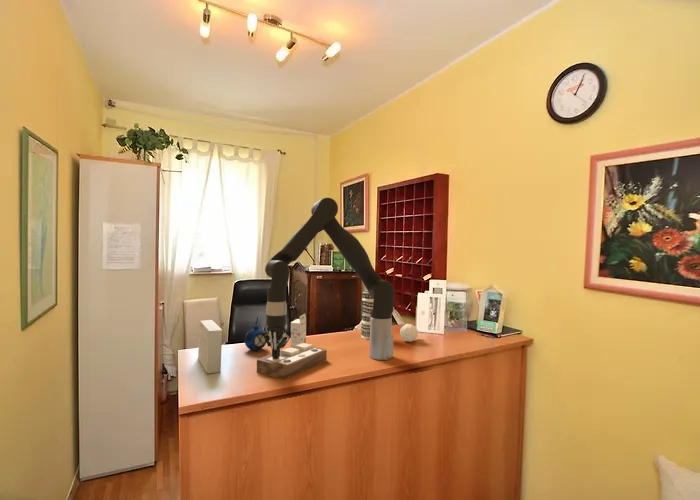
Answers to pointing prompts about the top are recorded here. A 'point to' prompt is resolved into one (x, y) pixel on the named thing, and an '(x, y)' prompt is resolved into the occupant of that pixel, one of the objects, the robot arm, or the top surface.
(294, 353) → the button middle
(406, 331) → the white rounded piece
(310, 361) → the button panel
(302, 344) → the button right
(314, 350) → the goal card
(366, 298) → the decorative candle
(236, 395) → the top surface
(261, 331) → the bomb
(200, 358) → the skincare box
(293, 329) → the ink cartridge box
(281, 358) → the button left
